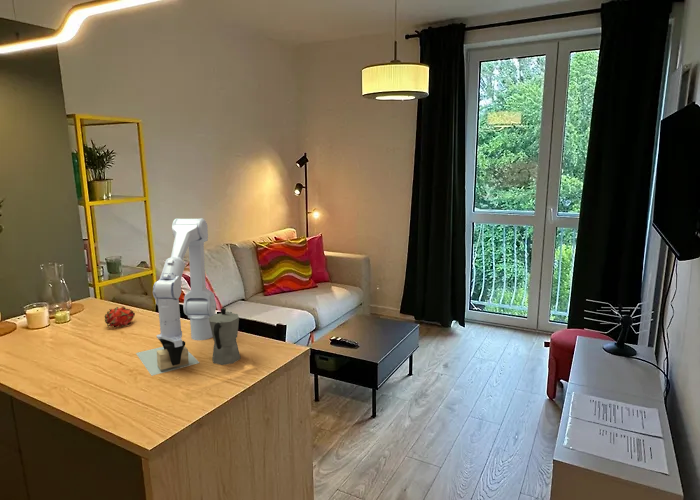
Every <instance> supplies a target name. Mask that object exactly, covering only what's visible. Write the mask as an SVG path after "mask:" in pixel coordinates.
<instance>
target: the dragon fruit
mask: <svg viewBox="0 0 700 500" xmlns="http://www.w3.org/2000/svg"><path fill="white" fill-rule="evenodd" d="M135 313H136V312H134V311H133V310H132V309H130V308H126V307H125V306H121V307H120V308H119V307H118V306H116V307H115V308H109V310H108V311H107V312H106V314H105V315H104V322H105V324H106V325H107V327H110V328H111V327H113V329H116V328H117V327H118V328H124V327H125V326H130V325H131V324H132V321H133V319H134V318H135Z"/></svg>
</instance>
